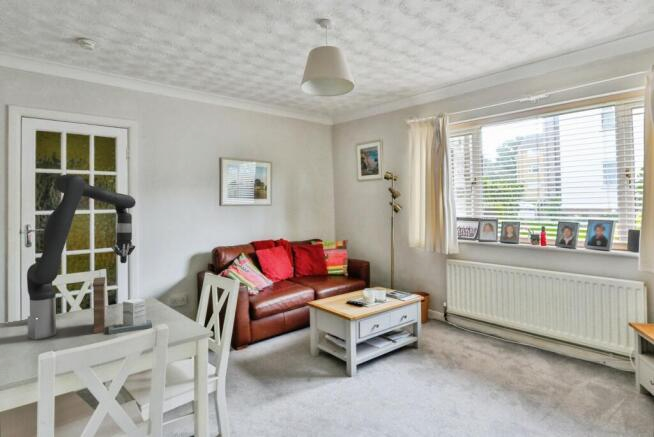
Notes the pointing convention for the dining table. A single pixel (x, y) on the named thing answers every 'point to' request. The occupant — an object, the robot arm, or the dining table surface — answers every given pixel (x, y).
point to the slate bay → (130, 328)
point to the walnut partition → (99, 304)
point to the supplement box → (134, 312)
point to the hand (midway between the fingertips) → (123, 263)
